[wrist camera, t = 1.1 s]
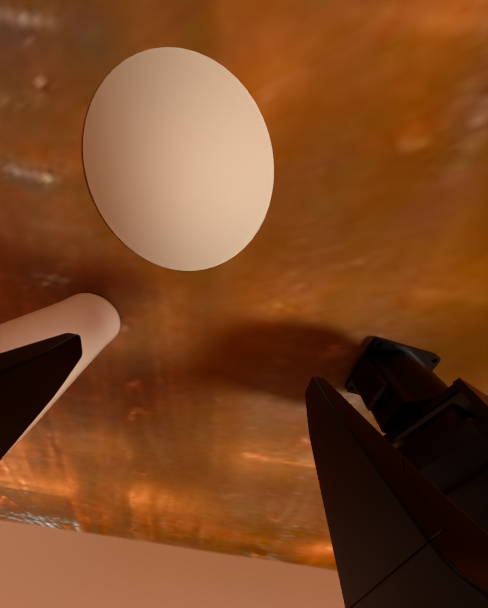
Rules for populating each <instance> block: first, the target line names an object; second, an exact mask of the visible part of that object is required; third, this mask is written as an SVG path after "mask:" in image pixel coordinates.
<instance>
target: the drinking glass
mask: <svg viewBox="0 0 488 608" xmlns="http://www.w3.org/2000/svg"><path fill="white" fill-rule="evenodd" d="M119 330H120V317H119V315H118V312H117V311H116V309H115V308H114V306H113V305H112V304H111V303H110V302H109V301H107V300H106V299H104V298H103V297H101V296H98V295H96V294H92V293H79V294H75V295H73V296H71V297H68V298H66V299H64V300H62V301H60V302H58V303H55V304H52V305H50V306H47V307H44V308H42V309H39V310H36V311H34V312H31V313H28V314H26V315H23V316H20V317H17V318H15V319H12V320H9V321H7V322H4V323H1V324H0V353H2V352H6V351H9V350H12V349H15V348H19V347H22V346H25V345H28V344H32V343H35V342H38V341H41V340H44V339H48V338H51V337H54V336H57V335H61V334H64V333H73V334H78V335H80V337H81V343H82V351H83V353H82V357H81V359H80V360H79V362H78V363H77V365H76V366H75V368H74V369H73V371H72V372H71V373H70V375H69V376H68V378H67V379H66V381H65V382H64V384H63V385H62V386H61V388H60V389H59V391H58V392H57V393H56V395H55V396H54V397H53V398H52V400H51V401H50V402H49V403H48V404H47V406H46V407H45V408H44V409H43V410H42V412H41V413H40V414H39V415H38V416H37V418H36V419H35V420H34V421H33V422H32V423H31V425H30V426H29V427H28V428H27V429H26V431H25V432H24V433H23V434H22V435H21V436H20V438H19V439H18V440H17V441H16V442H15V444H14V445H13V446H12V447H11V448H10V450H9V451H8V452H7V453H6V454H5V455H4V457H5V456H6V455H7V454H8V453H9V452H10V451H11V450H12V449H13V448H14V447H15V446H16V445H17V444H18V442H19V441H20V440H21V439H22V438H23V437H24V436H25V435H26V434H27V433H28V432H29V431H30V430H31V429H32V427H33V426H34V425H35V424H36V423H37V422H38V421H39V420H40V419H41V418H42V416H43V415H44V414H45V413H46V412H47V411H48V410H49V409H50V407H51V406H52V405H53V404H54V403H55V402H56V401H57V400H58V398H59V397H60V396H61V395H62V394H63V393H64V392H65V391H66V389H67V388H68V387H69V386H70V385H71V384H72V383H73V382H74V380H75V379H76V378H77V377H78V376H79V375H80V374H81V373H82V372H83V370H84V369H85V368H86V367H87V366H88V365H89V364H90V363H91V362H92V360H93V359H94V358H95V357H96V356H97V355H98V354H99V353H100V352H101V351H102V350H103V348H104V347H105V346H107V345H108V344H109V343H110V342H111V341H112V340H113V339H114V338H115V337H116V336H117V334H118V332H119ZM4 457H3V458H4ZM3 458H2V459H3ZM2 459H1V460H2ZM1 460H0V461H1Z"/></svg>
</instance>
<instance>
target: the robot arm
mask: <svg viewBox="0 0 488 608" xmlns="http://www.w3.org/2000/svg"><path fill="white" fill-rule="evenodd" d="M378 342H380V343H379V344H377V343H378ZM82 353H83V351H82V343H81V337H80V335H78V334H73V333H64V334H61V335H57V336H54V337H51V338H48V339H44V340H41V341H38V342H35V343H32V344H28V345H25V346H22V347H19V348H15V349H12V350H9V351H6V352H2V353H0V460H1V459H2V458H3V457H4V455H5V454H6V453H7V452H8V451H9V450H10V448H11V447H12V446H13V445H14V444H15V442H16V441H17V440H18V439H19V438H20V436H21V435H22V434H23V433H24V432H25V431H26V429H27V428H28V427H29V426H30V425H31V423H32V422H33V421H34V420H35V419H36V418H37V416H38V415H39V414H40V413H41V412H42V410H43V409H44V408H45V407H46V406H47V404H48V403H49V402H50V401H51V400H52V398H53V397H54V396H55V395H56V393H57V392H58V391H59V389H60V388H61V386H62V385H63V384H64V382H65V381H66V379H67V378H68V376H69V375H70V373H71V372H72V371H73V369H74V368H75V366H76V365H77V363H78V362H79V360H80V359H81V357H82ZM432 359H433V360H432ZM439 362H440V357H439V356H438V355H436V354H434V353H431V352H427V351H424V350H420V349H417V348H413V347H410V346H407V345H403V344H400V343H396V342H393V341H389V340H386V339H382V338H375V339H373V340H372V342H371V343H370V345H369V346H368V348H367V350H366V351H365V353H364V355H363V356H362V357H361V359H360V360H359V362H358V363H357V365H356V367H355V368H354V370H353V372H352V373H351V375H350V377H349V379H348V381H347V382H346V384H345V388H346V390H347V391H348V392H351V393H354V394H358V395H360V396H361V398H362V400H363V402H364V404H365V406H366V408H367V409H368V410H369V411H371V412H372V414H373V416H374V418H375V420H376V421H377V423H378V425H379V427H380V429H381V431H382V432H383V433H386V434H385V435H384V436H382V435H381V434H380V433H379V432H378V431H377V430H376V429H375V428H374V427H373V426H372V425H371V424H370V423H369V422H368V421H367V420H366V419H365V418H364V417H363V416H362V415H361V414H360V413H359V412H358V411H357V410H356V409H355V408H354V407H353V406H352V405H351V404H350V403H349V402H348V401H347V400H346V399H345V398H344V397H343V396H342V395H341V394H339V393H338V392H337V391H336V390H335V389H334V388H333V387H332V386H331V385H330V384H329V383H328V382H327V381H326V380H325V379H324V378H322V377H316V376H313V377H312V378H311V380H310V383H309V385H308V387H307V390H306V394H305V399H306V409H307V418H308V428H309V436H310V441H311V446H312V451H313V456H314V460H315V465H316V470H317V475H318V480H319V484H320V489H321V494H322V499H323V503H324V508H325V513H326V518H327V523H328V527H329V532H330V537H331V542H332V546H333V551H334V556H335V561H336V565H337V570H338V575H339V579H340V585H341V589H342V594H343V599H344V603H345V608H488V396H487V395H485V394H484V393H482V392H481V391H479V390H478V389H476V388H475V387H473V386H471V385H470V384H468V383H467V382H465V381H464V380H462V379H461V378H458V379H457V380H456V381H454V382H453V385H452V386H450V387H448V386H447V385H446V384H445V383H444V382H443V381H442V380H441V379H440V378H439V377H437V376H436V375H435V374H434V373H433V372H432V371H433V369H434V368H435V367H436V366H437V364H438V363H439Z"/></svg>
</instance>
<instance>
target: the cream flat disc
mask: <svg viewBox="0 0 488 608" xmlns="http://www.w3.org/2000/svg"><path fill="white" fill-rule="evenodd" d="M83 159H84V167H85V173H86V178H87V181H88V185H89V188H90V191H91V194H92V196H93V199H94V201H95V204H96V206H97V208H98V210H99V211H100V213H101V215H102V217H103V218H104V220H105V221H106V223H107V224H108V226H109V227H110V228H111V230H112V231H113V232H114V233H115V235H116V236H117V237H118V238H119V239H120V240H121V241H122V242H123V243H124V244H125V245H126V246H128V247H129V248H130V249H131V250H132V251H134V252H135V253H137V254H138V255H140V256H141V257H143V258H144V259H146V260H148V261H150V262H152V263H154V264H157V265H160V266H163V267H166V268H170V269H174V270H183V271H194V270H202V269H208V268H211V267H214V266H217V265H219V264H221V263H224V262H226V261H228V260H229V259H231V258H232V257H234V256H235V255H237V254H238V253H239V252H240V251H241V250H242V249H244V248H245V247H246V245H247V244H248V243H249V242H250V241H251V240H252V239H253V237H254V236H255V234H256V233H257V231H258V230H259V228H260V226H261V224H262V222H263V220H264V218H265V215H266V213H267V210H268V207H269V204H270V200H271V195H272V190H273V181H274V161H273V152H272V146H271V142H270V137H269V133H268V130H267V128H266V125H265V122H264V119H263V117H262V115H261V113H260V111H259V109H258V107H257V105H256V103H255V101H254V100H253V98H252V97H251V95H250V94H249V92H248V91H247V90H246V88H245V87H244V86H243V85H242V84H241V83H240V81H239V80H238V79H237V78H236V77H235V76H234V75H233V74H231V73H230V72H229V71H228V70H227V69H226V68H225V67H223V66H222V65H220V64H219V63H217V62H216V61H214V60H212V59H211V58H209V57H207V56H204V55H202V54H200V53H197V52H195V51H191V50H187V49H183V48H172V47H163V48H154V49H149V50H146V51H143V52H140V53H137V54H135V55H133V56H131V57H130V58H128V59H126V60H124V61H123V62H122V63H121V64H119V65H118V66H117V67H115V68H114V69H113V70H112V71H111V72H110V74H109V75H108V76H107V77H106V78H105V79H104V81H103V82H102V84H101V85H100V87H99V88H98V90H97V91H96V93H95V96H94V98H93V100H92V102H91V104H90V107H89V110H88V114H87V117H86V122H85V127H84V134H83Z"/></svg>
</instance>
